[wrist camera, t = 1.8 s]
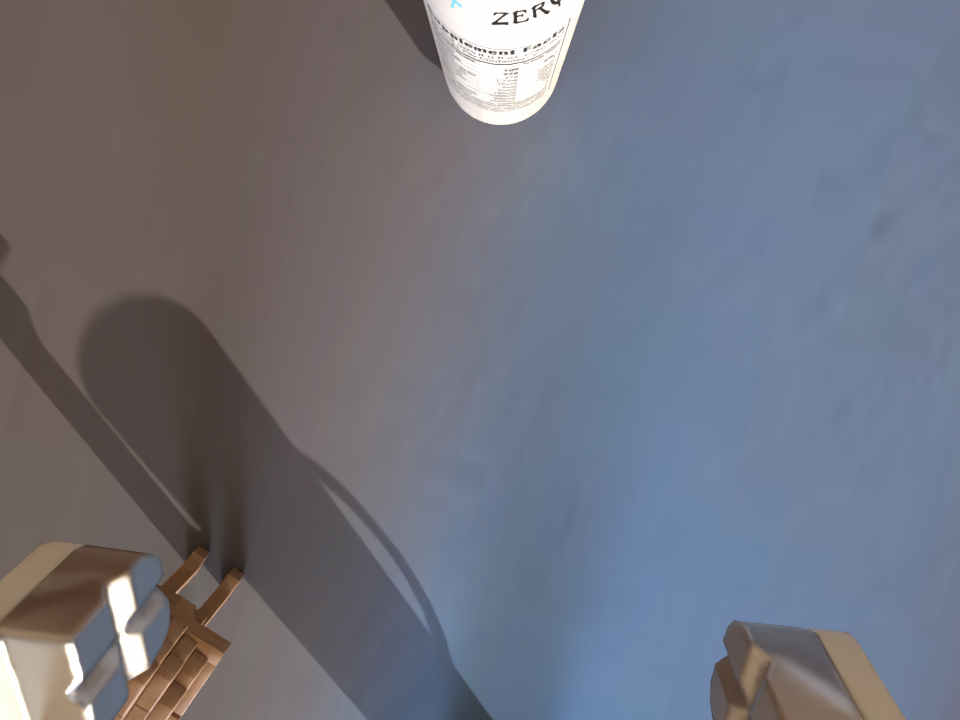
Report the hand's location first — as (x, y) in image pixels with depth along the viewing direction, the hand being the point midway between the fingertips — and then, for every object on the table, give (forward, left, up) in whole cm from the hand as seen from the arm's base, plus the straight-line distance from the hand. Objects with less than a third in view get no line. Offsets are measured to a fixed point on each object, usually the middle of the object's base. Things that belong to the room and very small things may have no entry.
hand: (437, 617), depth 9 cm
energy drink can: (-7, -13, -26) cm, 30 cm away
